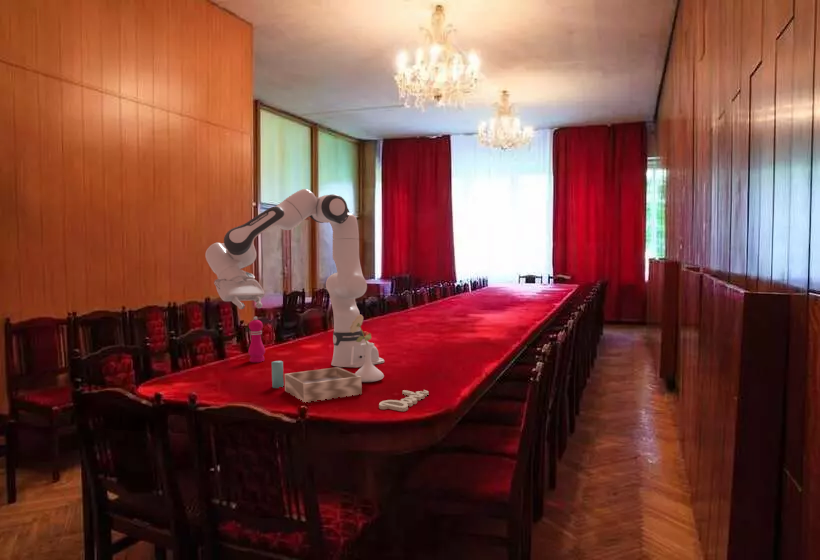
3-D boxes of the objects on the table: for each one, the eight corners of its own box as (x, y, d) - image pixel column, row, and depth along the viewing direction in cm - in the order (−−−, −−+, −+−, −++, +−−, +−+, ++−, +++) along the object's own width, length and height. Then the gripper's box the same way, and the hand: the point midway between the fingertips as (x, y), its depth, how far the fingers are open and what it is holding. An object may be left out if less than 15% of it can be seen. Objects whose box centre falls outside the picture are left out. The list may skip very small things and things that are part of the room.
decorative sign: (404, 407, 182) (374, 405, 186) (404, 413, 182) (374, 410, 186) (433, 390, 203) (405, 388, 207) (433, 395, 203) (406, 393, 207)
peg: (281, 385, 222) (280, 360, 222) (285, 387, 219) (284, 362, 218) (270, 386, 220) (270, 361, 220) (274, 388, 217) (273, 363, 216)
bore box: (338, 383, 223) (337, 367, 222) (361, 394, 205) (361, 376, 205) (285, 391, 213) (284, 373, 212) (304, 402, 195) (304, 384, 195)
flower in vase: (370, 376, 233) (368, 311, 232) (390, 380, 225) (388, 312, 224) (343, 382, 224) (341, 314, 223) (363, 386, 216) (361, 316, 215)
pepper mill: (261, 362, 268) (259, 317, 267) (245, 362, 269) (244, 317, 268) (268, 359, 275) (266, 315, 274) (253, 359, 277) (251, 315, 275)
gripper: (217, 273, 219) (236, 302, 215) (256, 274, 238) (274, 301, 233) (207, 285, 222) (226, 314, 217) (246, 285, 240) (265, 311, 235)
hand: (251, 307), depth 225 cm, fingers open, 8 cm apart
